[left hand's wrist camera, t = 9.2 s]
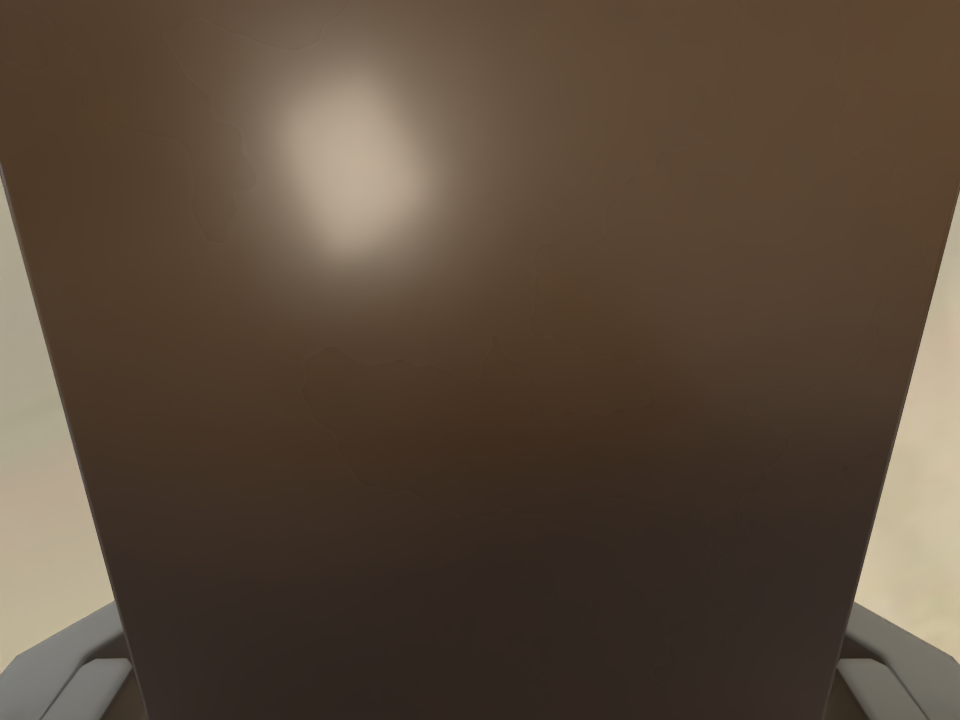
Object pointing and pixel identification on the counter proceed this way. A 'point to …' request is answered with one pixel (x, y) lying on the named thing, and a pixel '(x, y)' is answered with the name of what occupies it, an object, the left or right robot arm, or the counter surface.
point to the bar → (482, 337)
